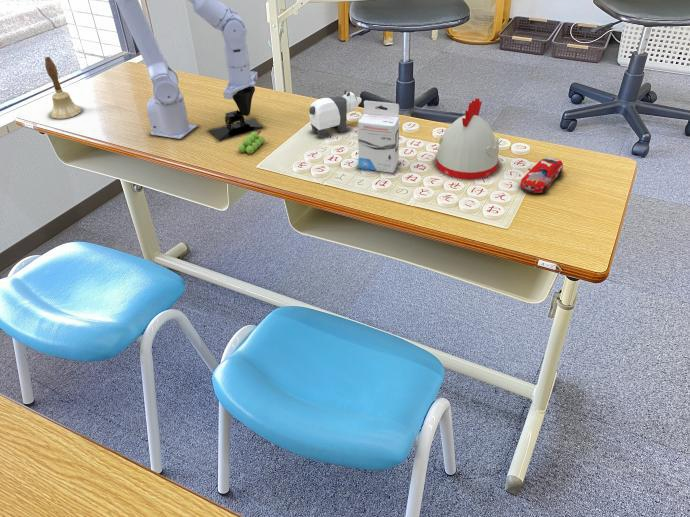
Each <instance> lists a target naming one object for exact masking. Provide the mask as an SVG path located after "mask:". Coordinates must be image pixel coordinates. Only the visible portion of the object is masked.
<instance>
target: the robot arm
mask: <svg viewBox="0 0 690 517" xmlns="http://www.w3.org/2000/svg"><path fill="white" fill-rule="evenodd" d="M114 1H115V2H116V5H117V7H118V9H119V12H120V13H121V15H122V17H123V20H124V22H125V24H126V26H127V28H128V30H129V32H130V34H131V36H132V39H133V41H134V44H135V46H136V47H137V50H138V52H139V53H140V56H141V58H142V61H143V62H144V64H145V67H146V68H147V72H148V75H149V78H150V80H151V82H152V94H153V96H152V97H150V98H149V100H148V101H147V104H146V112H147V117H148V122H149V125H150V128H151V132H150V135H152V136H159V137H164V138H170V139H171V138H172V139H178V140H181V139H183V138H184V137H185V136H187V135H188V134H189V133H190V132H192V131H193V130H194V129H196V128H197V127H198V126H197V124H192V123H190V122H189V117H188V112H187V108H186V103H185V98H184V94H183V93H182V92H180V87H179V76H178V74H177V73H176V71H175V70H173V69H172V68H171V66H170V65H169V63H168V61H167V59H166V58H165V57H164V55H163V52H162V50H161V48H160V46H159V44H158V41H157V39H156V37H155V34H154V32H153V29H152V28H151V26H150V23H149V21H148V19H147V16H146V14H145V12H144V10H143V7H142V5H141V3H140V0H114ZM188 1H189V2H190V3H191V4H192V10H193V12H194V13H195V14H196V15H197V16H198V17H200V18H201V19H202V20H203V21H205V22H206V23H207V24H208V25H210V26H211V27H213V29H215V30H219V31H220V32H221V36H222V37H223V43H224V46H223V50H224V55H225V56H224V57H225V63H226V69H227V75H228V82H227V85H226V87H225V89H224V90H223V91H222V93H223V99H225V100H226V99H227V100H233V101H234V103H235V104H236V107H237V110H238V111H240V112H241V113H242V114H243V116H244V117H249V116H250V115H251V108H252V101H253V96H254V93H255V92H256V87H255V85H256V81H257V80H258V79H259V75H258V71H252V70H251V64H250V59H249V50H248V45H247V38H246V36H247V28H246V25H245V23H244V22H243V21H244V20H243V19H242V17H241V16H240V15H239V14H238V12H236V11H235V10H234V9H233V8H232V7H227V6H226V5H225V4H224V3H223V2H222V1H220V0H188Z"/></svg>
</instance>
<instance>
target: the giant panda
mask: <svg viewBox="0 0 690 517" xmlns="http://www.w3.org/2000/svg"><path fill="white" fill-rule="evenodd" d="M362 101H363V99H362V97H360V96H356V95H355V94H354V93H353V92H351V91H347V89H344V91H343V95H342V96H340V95H338V96H331V97H322V98H318V99H316V100H313V102H312V103H311V104H309V110H308V113H309V114H308V117H309V122H310V126H311V130H312V133H313V134H317V136H318V138H320V139H321V138H326V137H328V136H329V135H328V133H327V132H326V129H329V128H338V132H339V133H345V132H348V131H349V128H348V127H347V114H348V113H350V112H353V111H354V110H356V109H357V108H358V106H359V105H360V104H361V103H362Z"/></svg>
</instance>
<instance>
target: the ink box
mask: <svg viewBox="0 0 690 517" xmlns="http://www.w3.org/2000/svg"><path fill="white" fill-rule="evenodd" d="M377 107H378V108H377ZM379 107H382V108H386V109H380V108H379ZM399 114H400V104H399V103H393V102H385V101H374V100H364V101H363V114H362V115H361V117H360V118H359V119H358V121H357V142H358V143H357V148H358V152H357V154H358V155H357V156H358V169H363V170H370V171H375V172H376V171H377V172H385V173H391V174H393V173H395V172H396V171H395V170H396V169H397V166H398V164H399V153H400V152H399V148H400V120H401V119H400V117H399V116H400V115H399Z"/></svg>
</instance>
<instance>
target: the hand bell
mask: <svg viewBox="0 0 690 517" xmlns="http://www.w3.org/2000/svg"><path fill="white" fill-rule="evenodd" d="M44 66H45V71H46V73H47V75H48V76H49V78H50V79H51V81H52V84H53V87H54V91H55V93H54V94H52V96H51V99H52V104H53V105H52V106H53V107H52V110H51V111H50V117H51V118H53V119H56V120H66V119H70V118H72V117H76V116H78V115H79V114H81V113H82V108H81V106H78V105H77V104H75V103H74V101H73V99H72V98H71V95H70V94H69V92H67V91H63V89H62V86H61V84H60V81H59V73H58V70H57V69H58V68H57V66H56V64H55V62H54V61H53V60H52V58H51V56H45V57H44Z"/></svg>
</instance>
